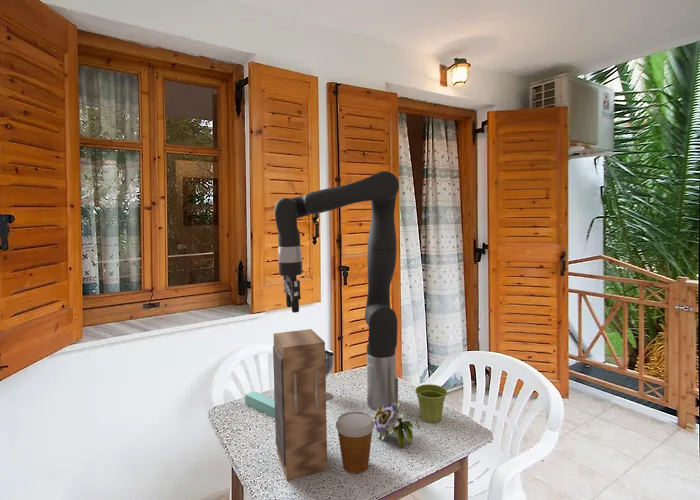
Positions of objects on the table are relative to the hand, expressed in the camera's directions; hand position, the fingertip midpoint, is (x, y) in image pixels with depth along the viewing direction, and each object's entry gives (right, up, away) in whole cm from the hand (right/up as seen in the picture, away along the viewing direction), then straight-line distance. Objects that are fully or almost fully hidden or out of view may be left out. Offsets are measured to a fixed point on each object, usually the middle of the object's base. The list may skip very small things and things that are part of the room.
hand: (292, 309), depth 132 cm
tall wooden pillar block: (+6, -34, -30) cm, 46 cm away
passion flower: (+31, -33, -19) cm, 49 cm away
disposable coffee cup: (+20, -34, -32) cm, 51 cm away
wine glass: (+9, -31, +7) cm, 33 cm away
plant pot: (+43, -32, -9) cm, 55 cm away
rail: (-6, -33, -4) cm, 33 cm away
